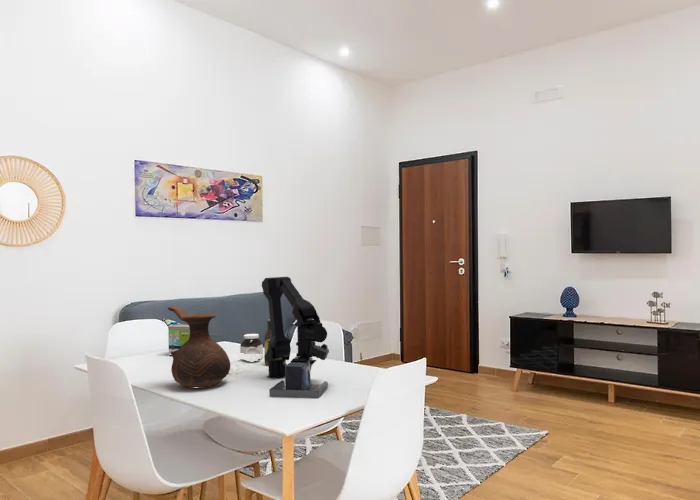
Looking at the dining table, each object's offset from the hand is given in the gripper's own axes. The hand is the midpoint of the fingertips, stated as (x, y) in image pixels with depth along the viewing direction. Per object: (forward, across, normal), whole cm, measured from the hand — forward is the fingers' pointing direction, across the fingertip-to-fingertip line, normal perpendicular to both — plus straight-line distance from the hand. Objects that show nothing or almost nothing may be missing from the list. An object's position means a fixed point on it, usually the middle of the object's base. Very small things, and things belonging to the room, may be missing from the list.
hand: (306, 381), depth 203 cm
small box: (+2, -10, 0) cm, 10 cm away
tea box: (+3, +56, +77) cm, 95 cm away
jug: (+2, -2, +41) cm, 41 cm away
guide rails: (+2, -9, 0) cm, 9 cm away
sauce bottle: (+2, +36, +26) cm, 44 cm away
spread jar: (+3, +44, +38) cm, 58 cm away
